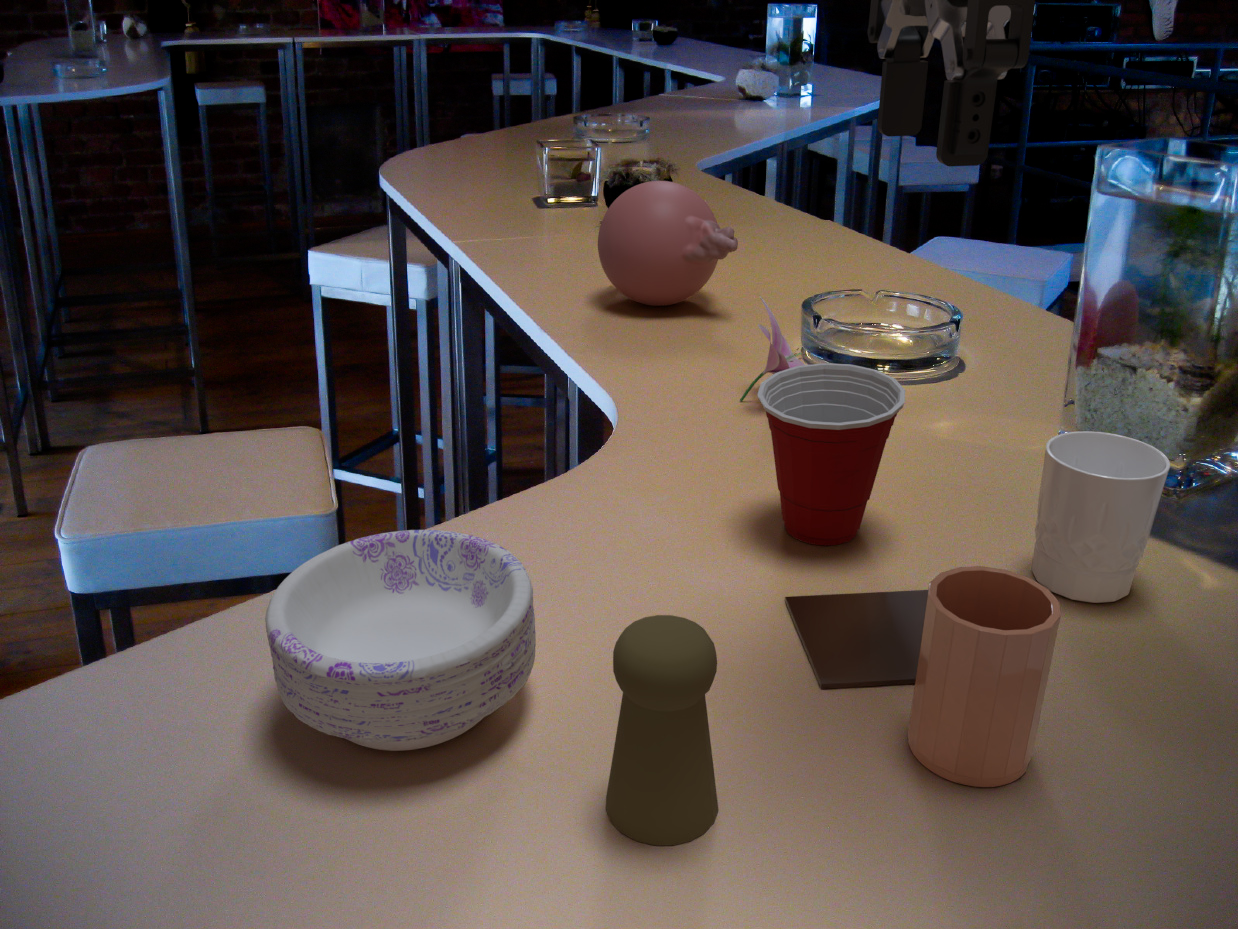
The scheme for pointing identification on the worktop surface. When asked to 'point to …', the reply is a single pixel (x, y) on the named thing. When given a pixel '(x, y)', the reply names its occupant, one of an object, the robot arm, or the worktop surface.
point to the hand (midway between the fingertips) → (927, 148)
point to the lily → (776, 351)
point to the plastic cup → (828, 444)
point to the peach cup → (982, 674)
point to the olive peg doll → (663, 732)
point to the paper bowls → (402, 637)
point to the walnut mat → (861, 636)
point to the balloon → (661, 243)
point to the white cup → (1095, 513)
